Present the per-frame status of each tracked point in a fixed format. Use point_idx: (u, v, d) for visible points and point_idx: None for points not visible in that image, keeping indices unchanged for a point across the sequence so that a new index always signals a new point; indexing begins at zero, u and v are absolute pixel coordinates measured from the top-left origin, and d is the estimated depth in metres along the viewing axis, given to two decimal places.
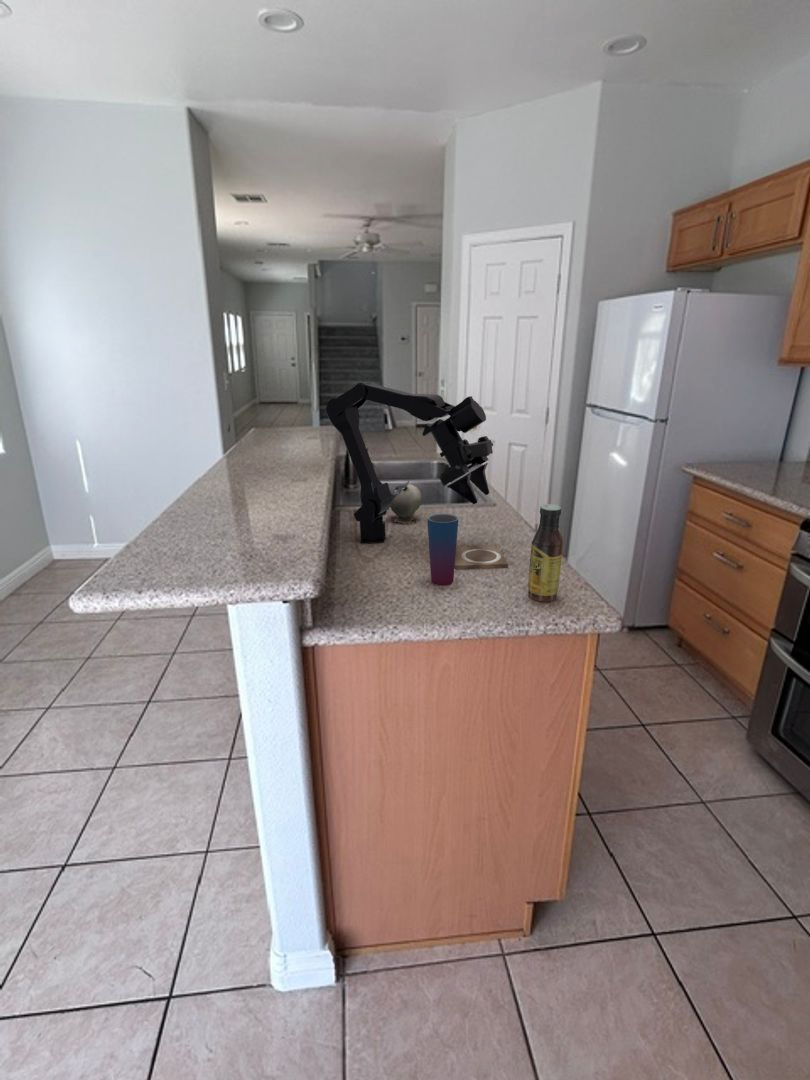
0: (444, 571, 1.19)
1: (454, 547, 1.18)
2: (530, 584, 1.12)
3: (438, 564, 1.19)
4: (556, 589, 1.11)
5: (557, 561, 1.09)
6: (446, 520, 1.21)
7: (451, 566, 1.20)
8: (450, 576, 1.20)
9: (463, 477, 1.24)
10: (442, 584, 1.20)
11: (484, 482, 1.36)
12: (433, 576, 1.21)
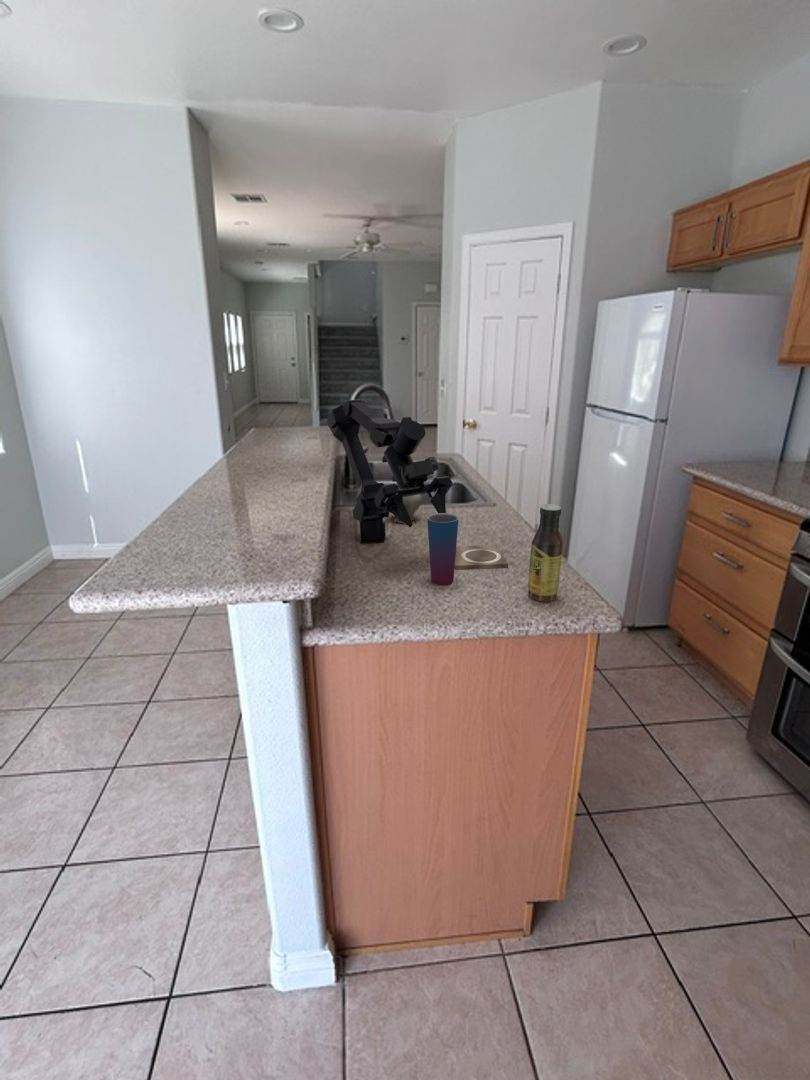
0: (444, 571, 1.19)
1: (454, 547, 1.18)
2: (530, 584, 1.12)
3: (438, 564, 1.19)
4: (556, 589, 1.11)
5: (557, 561, 1.09)
6: (446, 520, 1.21)
7: (451, 566, 1.20)
8: (450, 576, 1.20)
9: (389, 498, 1.20)
10: (442, 584, 1.20)
11: (441, 506, 1.26)
12: (433, 576, 1.21)
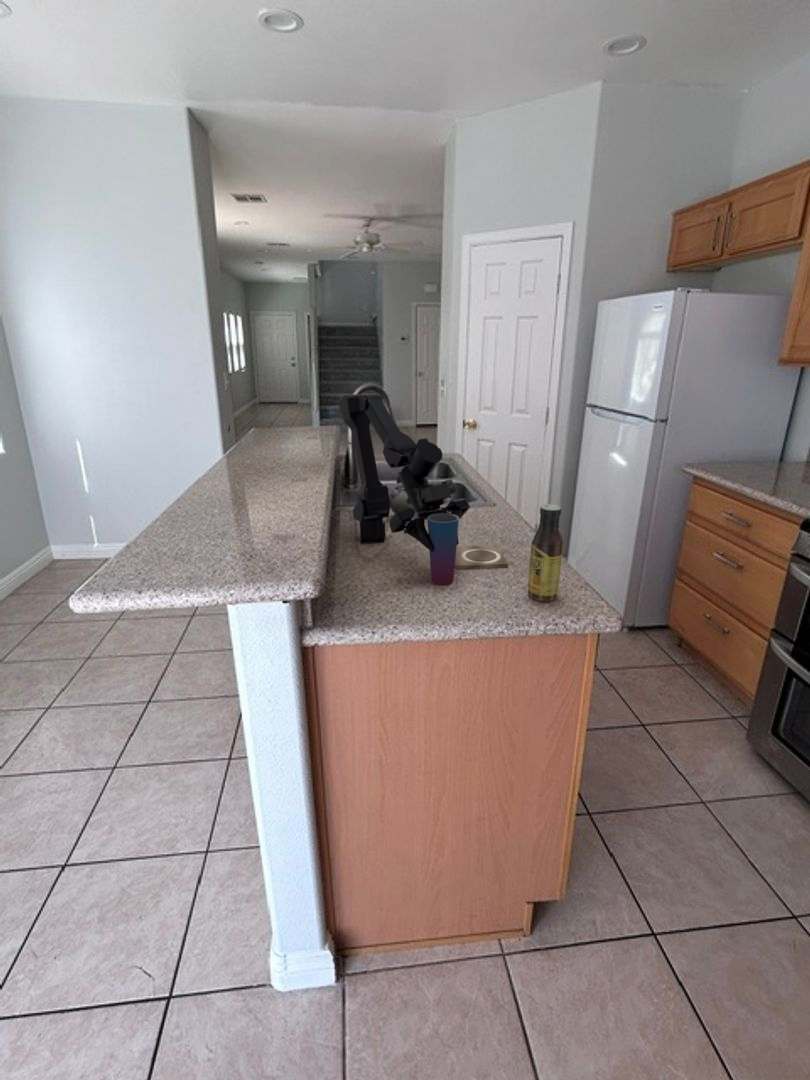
0: (444, 570, 1.19)
1: (454, 547, 1.18)
2: (530, 584, 1.12)
3: (438, 564, 1.19)
4: (556, 589, 1.11)
5: (557, 561, 1.09)
6: (446, 520, 1.21)
7: (451, 566, 1.20)
8: (450, 576, 1.20)
9: (411, 521, 1.17)
10: (442, 584, 1.20)
11: None
12: (433, 576, 1.21)
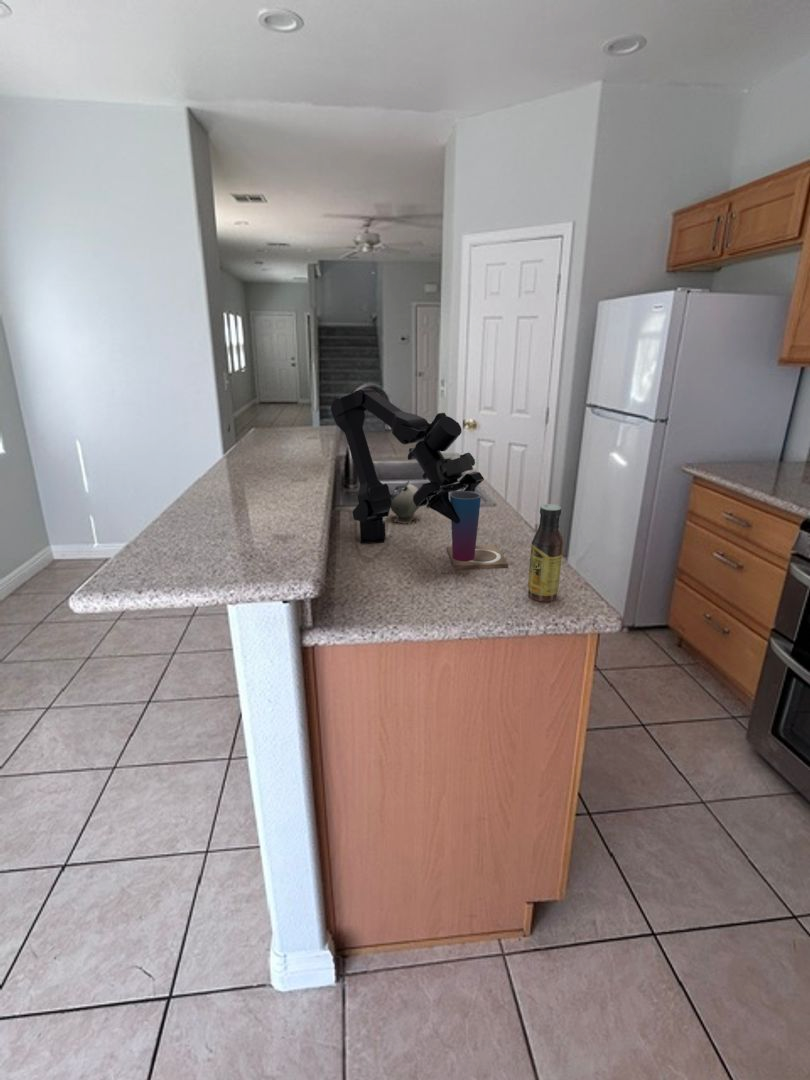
0: (469, 546, 1.23)
1: (477, 523, 1.22)
2: (530, 584, 1.12)
3: (463, 540, 1.22)
4: (556, 589, 1.11)
5: (557, 561, 1.09)
6: (465, 497, 1.24)
7: (474, 542, 1.23)
8: (473, 551, 1.24)
9: (437, 495, 1.18)
10: (466, 560, 1.24)
11: None
12: (457, 553, 1.24)
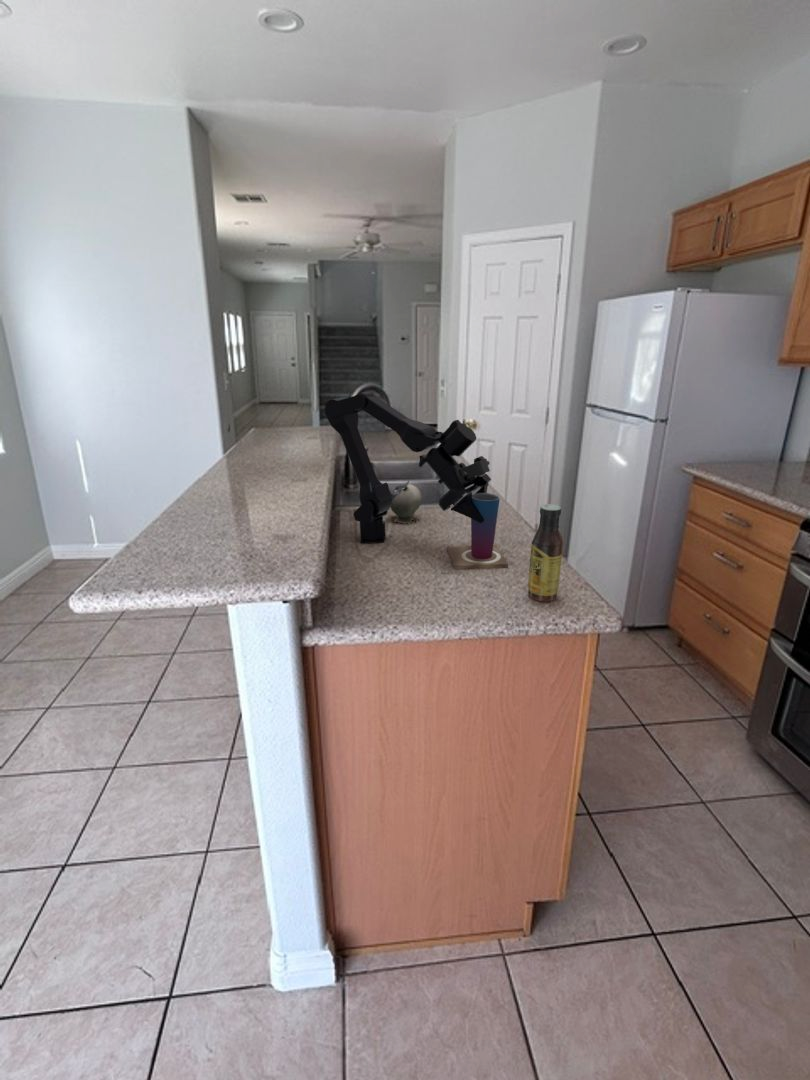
0: (490, 544, 1.31)
1: None
2: (530, 584, 1.12)
3: (485, 539, 1.30)
4: (556, 589, 1.11)
5: (557, 561, 1.09)
6: (481, 499, 1.32)
7: (493, 540, 1.32)
8: (492, 549, 1.33)
9: (463, 497, 1.25)
10: (487, 557, 1.32)
11: None
12: (479, 551, 1.31)
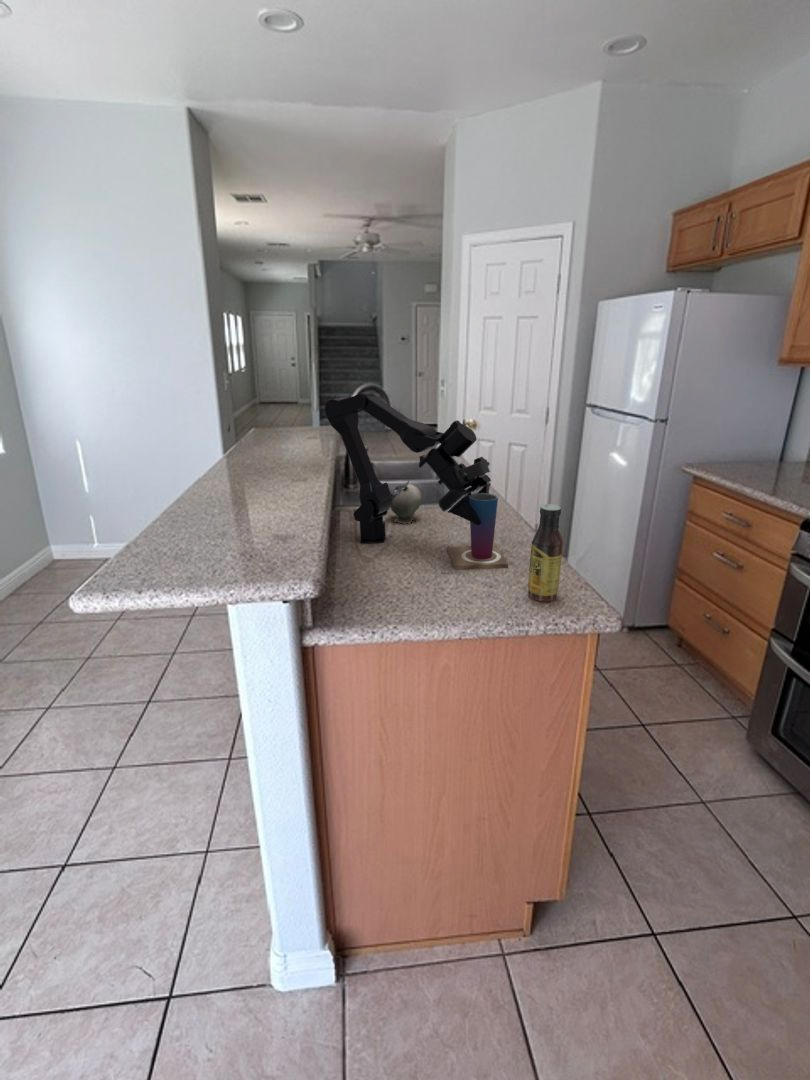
0: (490, 544, 1.31)
1: None
2: (530, 584, 1.12)
3: (485, 539, 1.30)
4: (556, 589, 1.11)
5: (557, 561, 1.09)
6: (479, 499, 1.32)
7: (493, 539, 1.32)
8: (492, 549, 1.33)
9: (461, 499, 1.24)
10: (487, 557, 1.32)
11: None
12: (478, 552, 1.31)
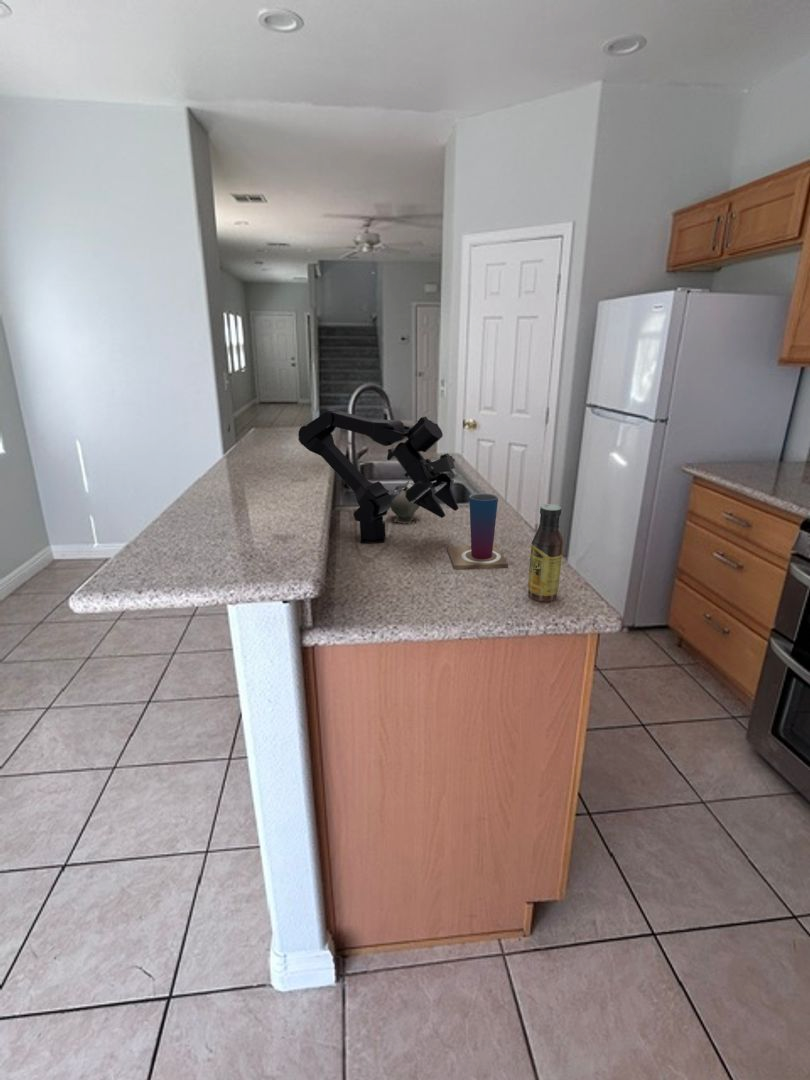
0: (490, 544, 1.31)
1: None
2: (530, 584, 1.12)
3: (485, 539, 1.30)
4: (556, 589, 1.11)
5: (557, 561, 1.09)
6: (479, 499, 1.32)
7: (493, 539, 1.32)
8: (492, 549, 1.33)
9: (427, 491, 1.28)
10: (487, 557, 1.32)
11: (452, 498, 1.39)
12: (478, 552, 1.31)
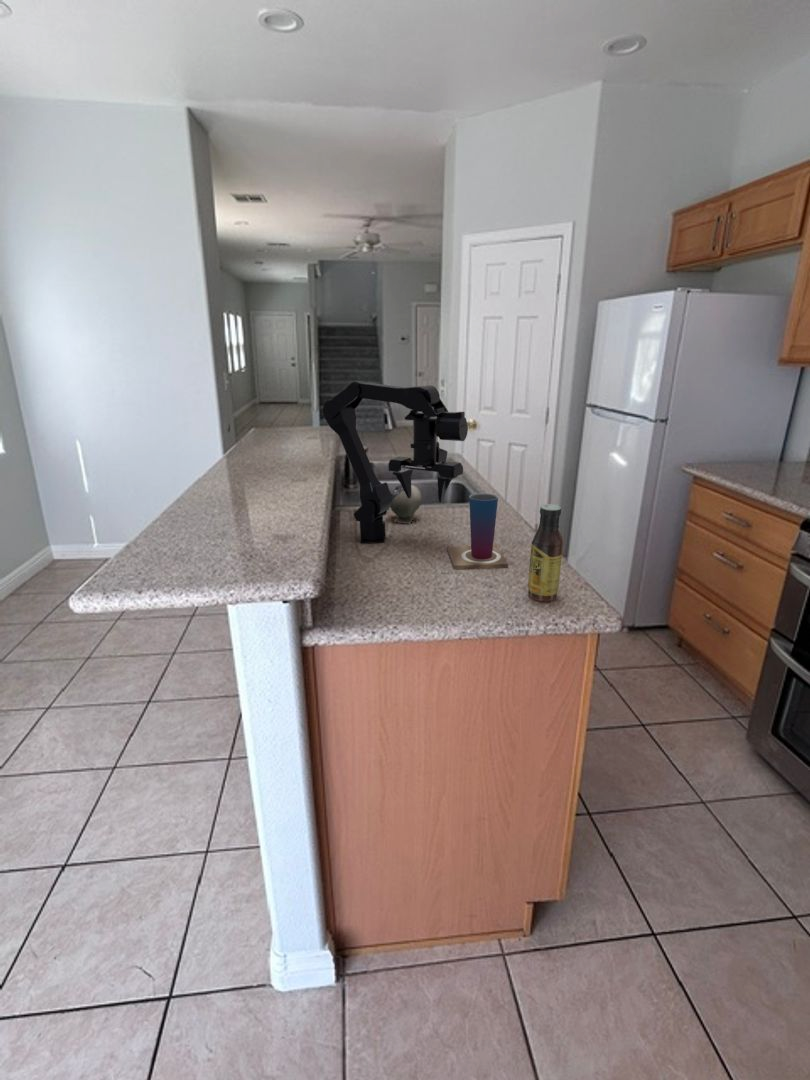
0: (490, 544, 1.31)
1: None
2: (530, 584, 1.12)
3: (485, 539, 1.30)
4: (556, 589, 1.11)
5: (557, 561, 1.09)
6: (479, 499, 1.32)
7: (493, 539, 1.32)
8: (492, 549, 1.33)
9: (456, 475, 1.35)
10: (487, 557, 1.32)
11: (410, 486, 1.41)
12: (478, 552, 1.31)
